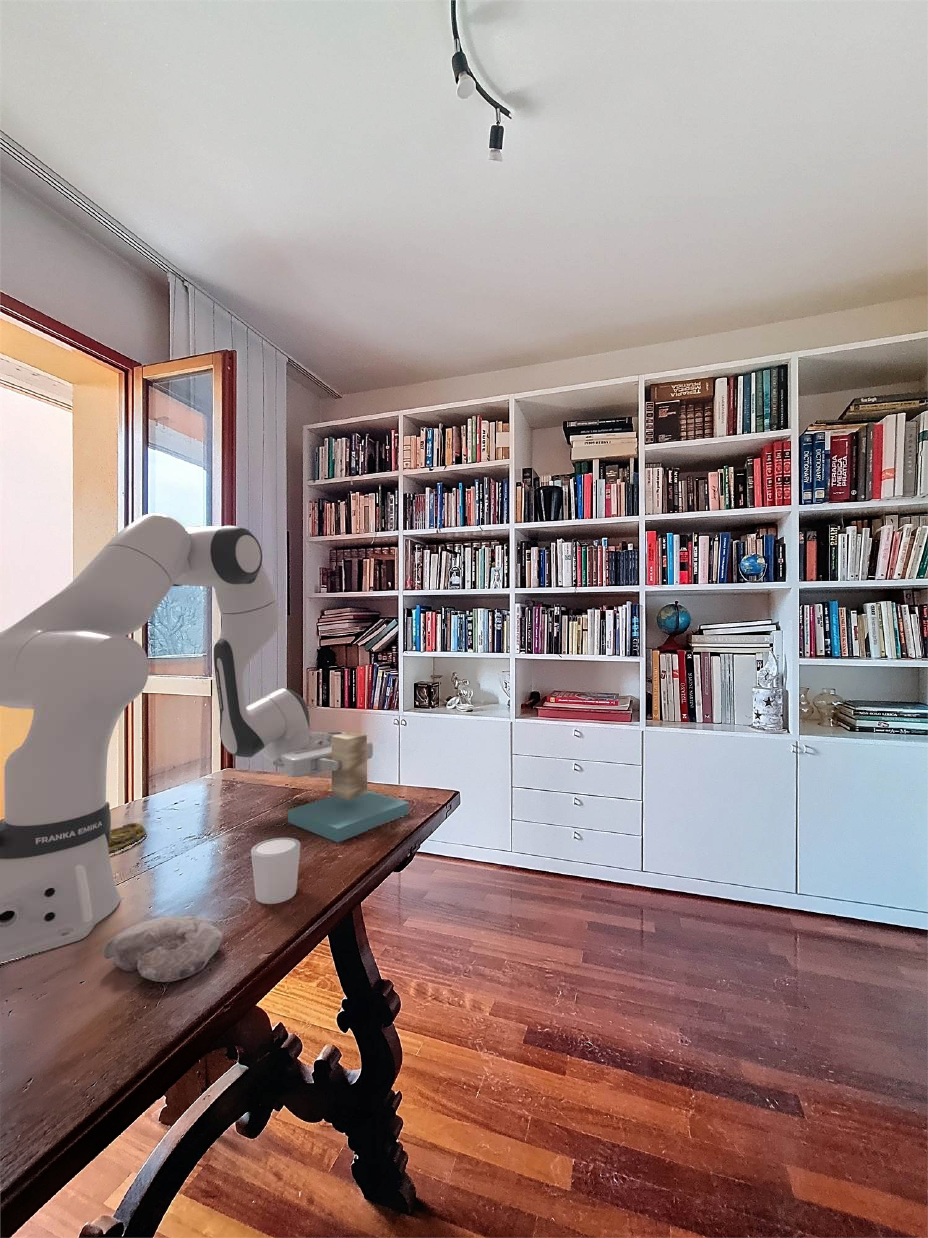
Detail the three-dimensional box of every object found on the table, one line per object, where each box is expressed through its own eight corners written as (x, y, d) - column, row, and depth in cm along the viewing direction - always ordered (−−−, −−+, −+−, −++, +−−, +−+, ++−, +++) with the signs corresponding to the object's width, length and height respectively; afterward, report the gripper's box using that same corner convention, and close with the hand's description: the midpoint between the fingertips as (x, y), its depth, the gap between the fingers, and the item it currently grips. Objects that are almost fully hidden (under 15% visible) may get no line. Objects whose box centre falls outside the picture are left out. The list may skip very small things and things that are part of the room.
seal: (109, 836, 104) (60, 871, 89) (106, 812, 104) (57, 842, 89) (159, 828, 105) (119, 861, 90) (156, 804, 105) (116, 833, 90)
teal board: (337, 842, 96) (337, 828, 96) (288, 822, 106) (288, 809, 106) (409, 814, 110) (408, 802, 110) (359, 799, 120) (359, 788, 120)
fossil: (238, 909, 67) (181, 964, 57) (237, 942, 67) (181, 1002, 57) (153, 896, 69) (85, 946, 59) (153, 927, 69) (85, 983, 59)
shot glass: (291, 906, 75) (291, 856, 75) (242, 906, 75) (242, 856, 75) (307, 882, 81) (306, 836, 81) (262, 882, 82) (262, 836, 82)
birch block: (347, 800, 105) (347, 739, 105) (332, 795, 108) (331, 736, 108) (367, 793, 109) (366, 735, 109) (351, 789, 112) (351, 732, 112)
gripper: (268, 747, 109) (307, 757, 100) (348, 730, 125) (389, 738, 116) (268, 777, 109) (308, 791, 100) (348, 757, 124) (389, 767, 116)
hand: (352, 762), depth 108 cm, fingers closed on birch block, 5 cm apart
